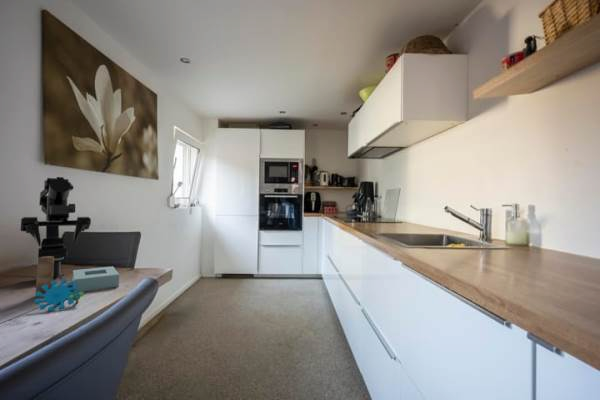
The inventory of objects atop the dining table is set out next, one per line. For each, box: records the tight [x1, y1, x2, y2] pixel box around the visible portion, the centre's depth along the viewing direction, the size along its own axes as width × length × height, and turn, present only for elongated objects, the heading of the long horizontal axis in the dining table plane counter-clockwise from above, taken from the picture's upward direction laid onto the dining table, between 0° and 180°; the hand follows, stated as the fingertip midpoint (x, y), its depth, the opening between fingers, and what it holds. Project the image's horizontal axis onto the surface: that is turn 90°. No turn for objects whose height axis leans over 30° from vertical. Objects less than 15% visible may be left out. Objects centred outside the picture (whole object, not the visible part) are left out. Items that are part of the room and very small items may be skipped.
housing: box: [71, 265, 120, 293], centre depth 104 cm, size 16×13×4 cm
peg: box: [35, 256, 54, 294], centre depth 91 cm, size 4×4×12 cm
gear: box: [34, 278, 85, 312], centre depth 82 cm, size 11×6×10 cm
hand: (57, 244), depth 96 cm, fingers open, 9 cm apart
